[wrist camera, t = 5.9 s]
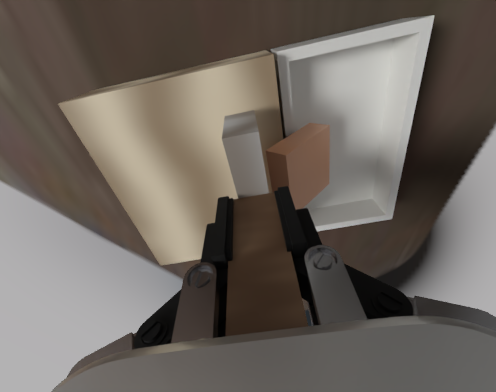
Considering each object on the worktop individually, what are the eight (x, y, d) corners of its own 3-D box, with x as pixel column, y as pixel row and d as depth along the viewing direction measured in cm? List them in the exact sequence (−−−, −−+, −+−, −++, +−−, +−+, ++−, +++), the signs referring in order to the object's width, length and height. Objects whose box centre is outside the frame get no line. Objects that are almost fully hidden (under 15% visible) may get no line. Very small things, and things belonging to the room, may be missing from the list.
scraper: (261, 108, 12) (309, 274, 4) (280, 228, 18) (316, 401, 10) (217, 117, 12) (181, 292, 4) (248, 233, 18) (258, 407, 10)
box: (400, 18, 14) (434, 15, 12) (374, 198, 22) (392, 218, 20) (270, 49, 15) (276, 51, 13) (289, 213, 23) (296, 234, 20)
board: (265, 50, 15) (273, 54, 12) (286, 213, 23) (295, 243, 20) (94, 89, 16) (57, 103, 13) (171, 233, 24) (160, 265, 21)
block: (309, 122, 16) (329, 125, 15) (311, 178, 18) (329, 183, 17) (265, 150, 14) (285, 155, 13) (275, 209, 16) (292, 217, 15)
